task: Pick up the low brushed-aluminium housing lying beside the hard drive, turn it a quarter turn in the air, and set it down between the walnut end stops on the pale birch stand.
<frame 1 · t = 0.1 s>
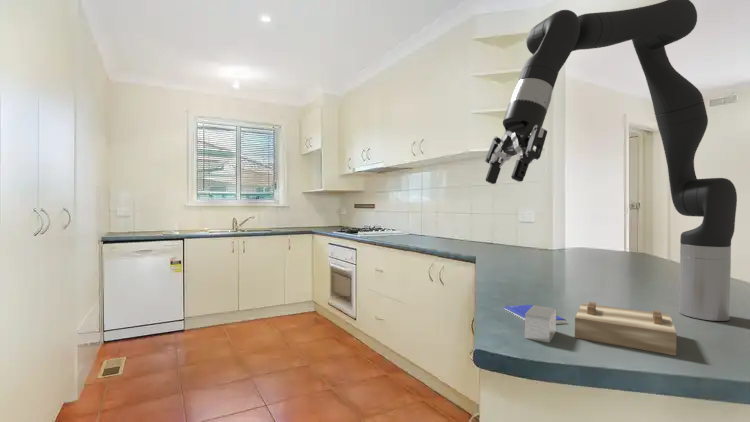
hand: (502, 181, 75), 31 cm above the counter, tool tilted 20°, fingers open, 8 cm apart
housing: (540, 335, 78), on the counter
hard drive: (533, 319, 91), on the counter
drive stand: (622, 335, 77), on the counter
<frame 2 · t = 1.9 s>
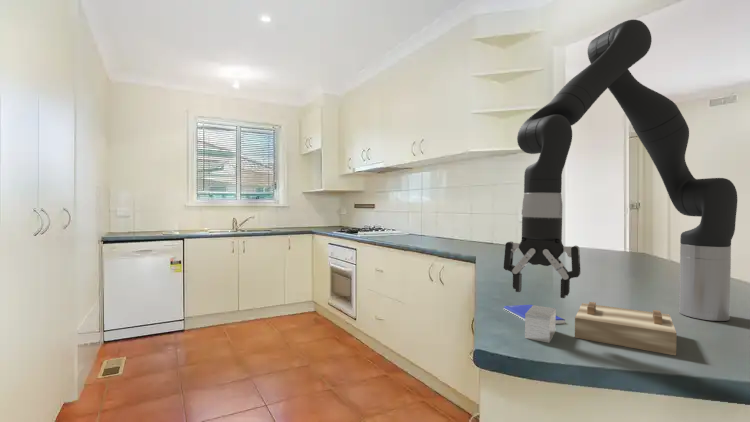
hand: (539, 294, 78), 8 cm above the counter, tool pointing down, fingers open, 8 cm apart
nothing on the counter moved.
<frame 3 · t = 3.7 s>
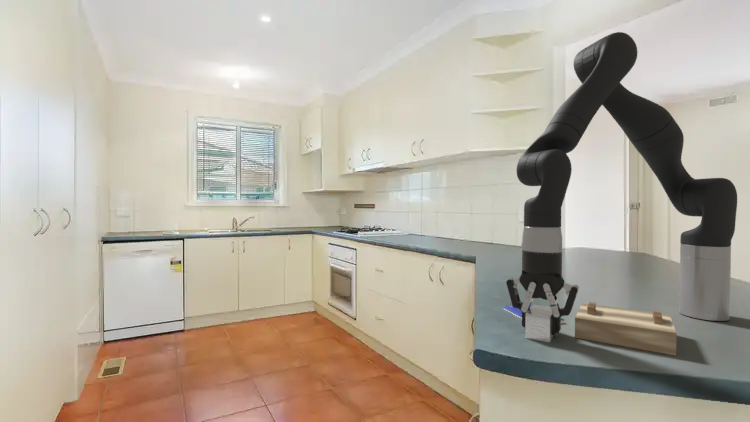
hand: (540, 331, 78), 1 cm above the counter, tool pointing down, fingers closed on housing, 4 cm apart
housing: (540, 334, 78), on the counter, touching gripper
everything else where it was.
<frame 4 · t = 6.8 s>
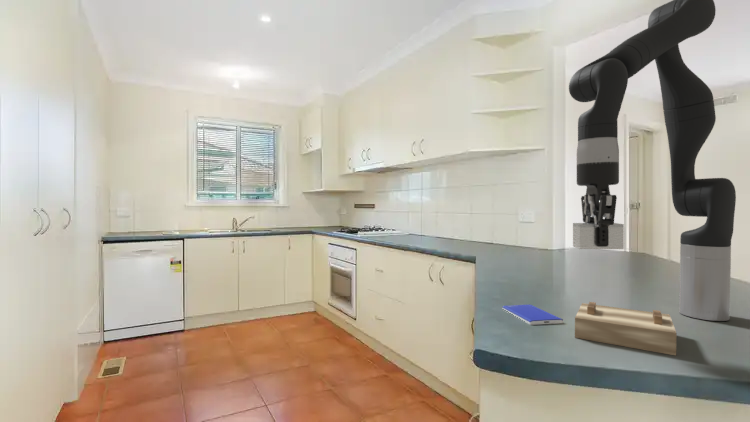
hand: (597, 244, 78), 18 cm above the counter, tool pointing down, fingers closed on housing, 4 cm apart
housing: (597, 247, 78), point 18 cm above the counter, touching gripper
everything else where it was.
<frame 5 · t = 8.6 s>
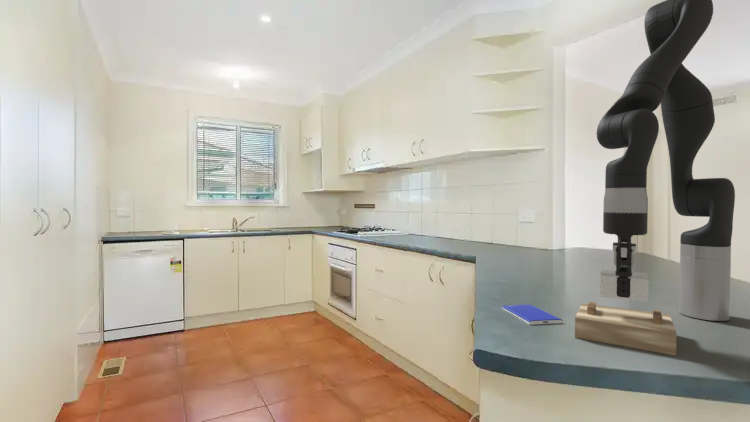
hand: (623, 294, 77), 9 cm above the counter, tool pointing down, fingers closed on housing, 4 cm apart
housing: (623, 297, 77), point 8 cm above the counter, touching gripper
everything else where it was.
when the fingers open (5 cm above the counter, at t = 9.9 s): housing stays where it is, resting on drive stand.
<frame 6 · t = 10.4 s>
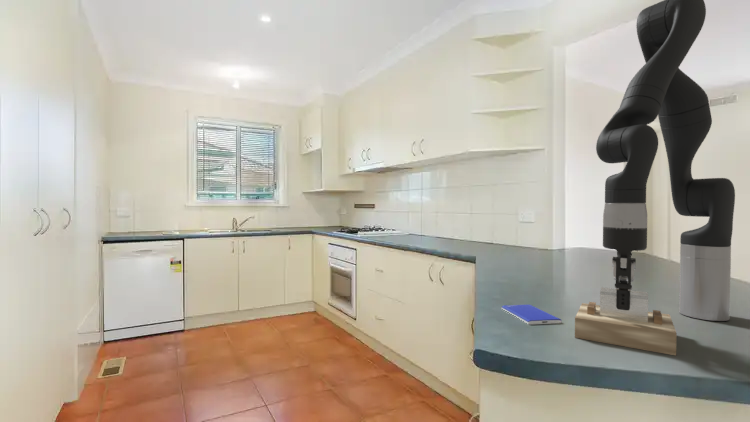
hand: (623, 304, 77), 6 cm above the counter, tool pointing down, fingers open, 8 cm apart
housing: (623, 316, 77), point 4 cm above the counter, touching drive stand
everything else where it was.
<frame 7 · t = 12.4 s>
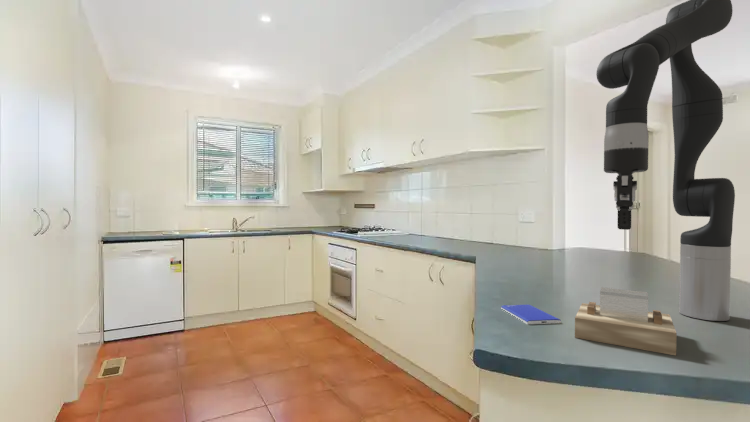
hand: (624, 228, 77), 22 cm above the counter, tool pointing down, fingers open, 8 cm apart
nothing on the counter moved.
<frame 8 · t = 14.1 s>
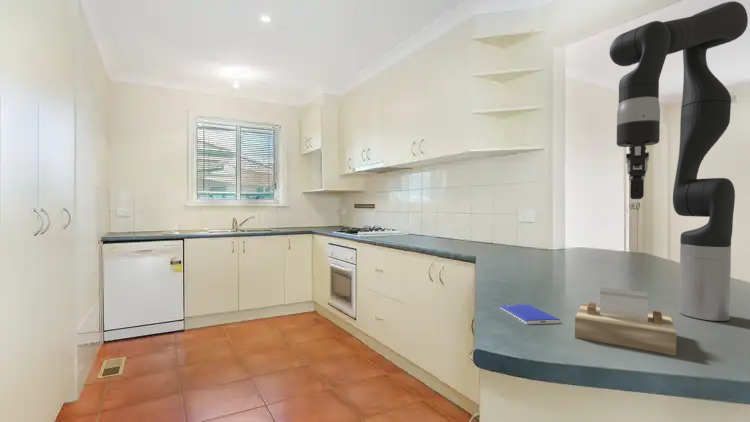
hand: (636, 198, 81), 28 cm above the counter, tool pointing down, fingers open, 8 cm apart
at the end: housing 0.0 cm off-centre on the drive stand, point 4.0 cm above the drive stand's base; housing tilted 0°; the gripper is holding nothing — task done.
